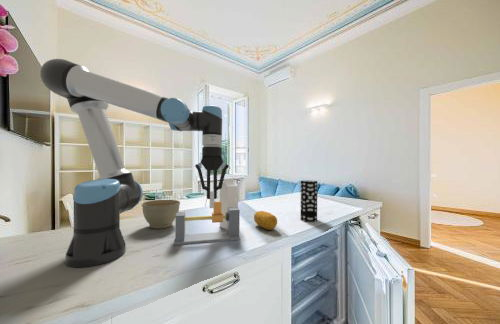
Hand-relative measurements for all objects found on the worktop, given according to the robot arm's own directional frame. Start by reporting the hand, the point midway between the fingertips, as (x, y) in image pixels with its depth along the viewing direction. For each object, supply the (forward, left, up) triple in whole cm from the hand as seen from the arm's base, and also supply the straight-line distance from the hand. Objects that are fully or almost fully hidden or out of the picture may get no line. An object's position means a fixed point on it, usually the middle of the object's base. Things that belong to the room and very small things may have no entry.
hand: (211, 207), depth 82 cm
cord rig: (-1, 0, -12) cm, 12 cm away
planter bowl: (-21, +21, -12) cm, 32 cm away
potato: (+25, +8, -12) cm, 29 cm away
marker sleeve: (+2, 0, -6) cm, 6 cm away
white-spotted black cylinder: (+51, +16, -12) cm, 54 cm away
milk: (+9, +13, -12) cm, 20 cm away
